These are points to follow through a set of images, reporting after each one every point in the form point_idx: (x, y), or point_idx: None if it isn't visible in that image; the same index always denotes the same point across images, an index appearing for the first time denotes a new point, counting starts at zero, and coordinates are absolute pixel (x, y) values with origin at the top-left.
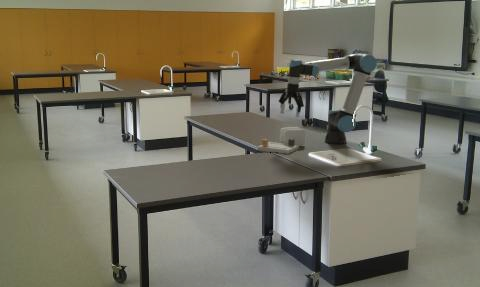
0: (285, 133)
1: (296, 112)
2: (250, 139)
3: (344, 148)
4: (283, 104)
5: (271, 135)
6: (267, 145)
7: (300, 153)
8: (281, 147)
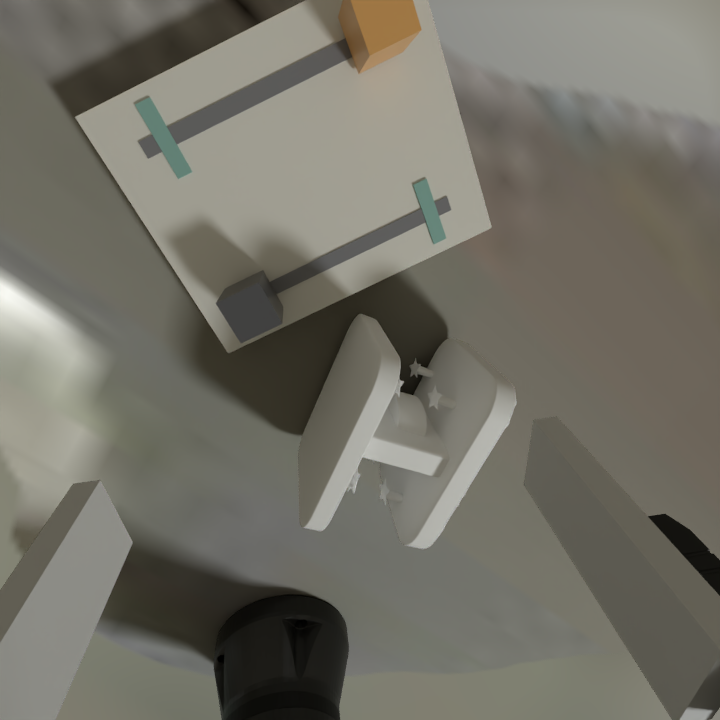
0: (382, 347)
1: (21, 579)
2: (712, 241)
3: None
4: (683, 669)
5: (664, 446)
6: (351, 50)
7: (76, 248)
8: (231, 153)
